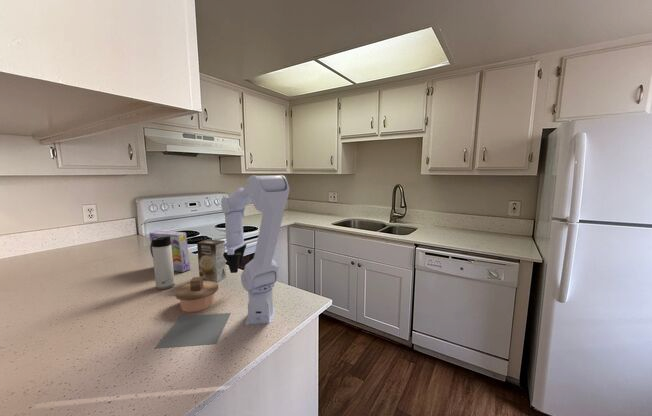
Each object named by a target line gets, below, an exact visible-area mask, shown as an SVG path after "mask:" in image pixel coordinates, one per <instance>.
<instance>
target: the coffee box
mask: <svg viewBox="0 0 652 416" xmlns="http://www.w3.org/2000/svg"><path fill="white" fill-rule="evenodd" d="M225 241H226V240H221V239H210V238H206V239H204V240H201V241H199V242H196V246H197V259H198V260H197V261H198V275H199V276H198V277H203V281H213V282H216V283H218V282H220V281H222V280H224V279H225V278H226V277H227V266H226V262H227V261H226V259H225V258H224V256H223V254H224V253H225V252H226V246H223V244H224V243H226V242H225Z"/></svg>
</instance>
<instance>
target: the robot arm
mask: <svg viewBox="0 0 652 416" xmlns="http://www.w3.org/2000/svg"><path fill="white" fill-rule="evenodd" d="M290 190H291V189H290V186H289V183H288V180H287V178H286V176H285V175H284V174H278V175H253V174H252V175H250V176H249V177H248V178H247V181H246V185H245V187H238V188H236V191H234V192H233V193H231V194H230V196H226V195H225V196H222V198H221V203H220V205H221V206H220V207H221V210H222V212H223V214H224V219H225V220H224V223H225V225H224V227H225V238H226V239H225V241H226V242H225V243H224V244H223V246H225V248H226V251H225V253H224V254H223V256H224V258H225V260H226V262H227V265H228V268H229V271H230V274H231V273H232V274H235V273H238V272H239V266H242V265H243V262H244V261H243V260H244V254H245V252H246V251H245V250H246V248H247V244H246V243H245V239H244V238H245V237H244V221H243V218H244V217H245V210H246V208H247V206H249V205H251V203H252V204H253V207H254V208H255V209H256V211H257V212H260V213H262V216H261V221H260V226H259V230H258V234H257V235H258V236H257V241H256V247H255V250H254V256H253V258H252V259H251V260H250V261H249V262H247V263H246V264H245V265H244V269H243V270H242V273H241V275H240V282H241V285H242V288H243V289H244V290H245V291H246V292H247V293H248V296H247V297H248V303H247V316H246V320H245V322H244V324H245V325H258V324H272V323H274V317H275V311H276V306H274V300H273V295H274V294H273V288H274V287H275V284H276V283H277V281H278V278H279V271H278V270H279V266H278V263H277V262H276V260H274V255H275V250H276V248H277V247H276V246H277V241H278V238H279V234H280V230H281V225H282V221H283V217H284V211H285V207H286V206H287V201H288V197H289V193H290Z"/></svg>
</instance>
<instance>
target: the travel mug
mask: <svg viewBox="0 0 652 416" xmlns="http://www.w3.org/2000/svg"><path fill="white" fill-rule="evenodd" d="M152 251H153V257H152V260H153V261H152V262H154V263H153V270H154V278H155V279H154V281H155V288H156V290H160V291H163V290H169V289H171V288H174V286H175V285H176V284H175V271H174V270H173V259H172V248H171V238H170V236H167V237H160V238H157V239H154V240H152Z"/></svg>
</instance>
